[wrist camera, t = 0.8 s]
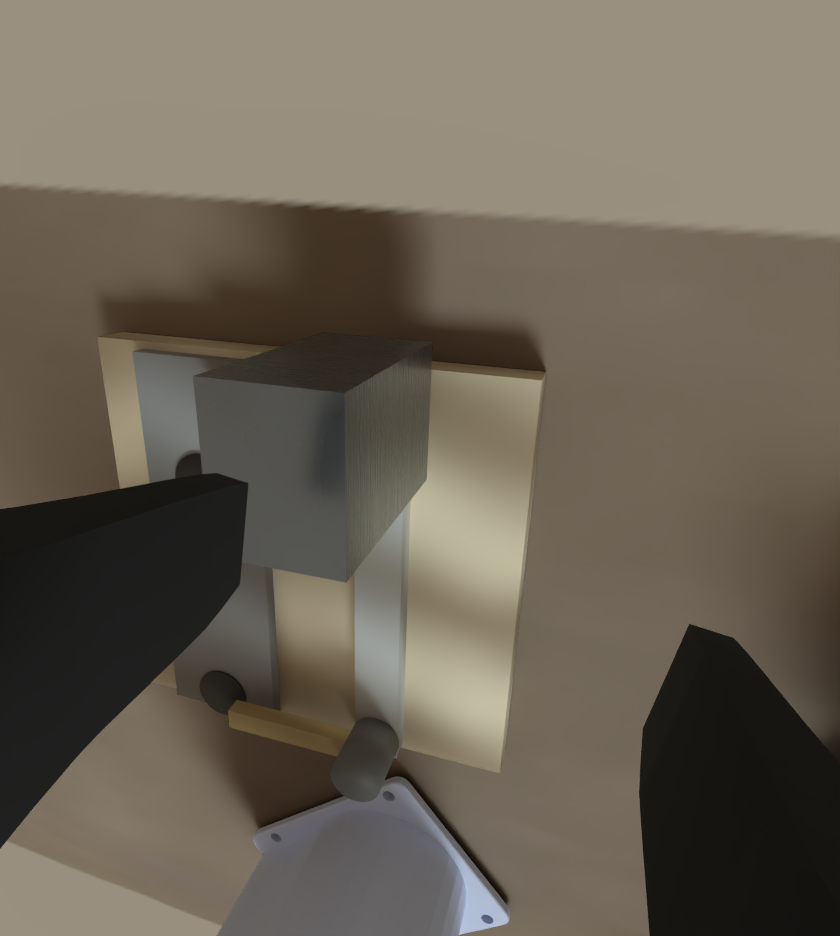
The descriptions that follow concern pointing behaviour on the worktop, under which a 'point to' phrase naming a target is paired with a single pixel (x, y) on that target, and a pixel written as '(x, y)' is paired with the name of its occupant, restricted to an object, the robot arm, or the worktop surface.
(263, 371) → the grey rectangular block
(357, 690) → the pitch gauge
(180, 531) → the robot arm
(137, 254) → the worktop surface
